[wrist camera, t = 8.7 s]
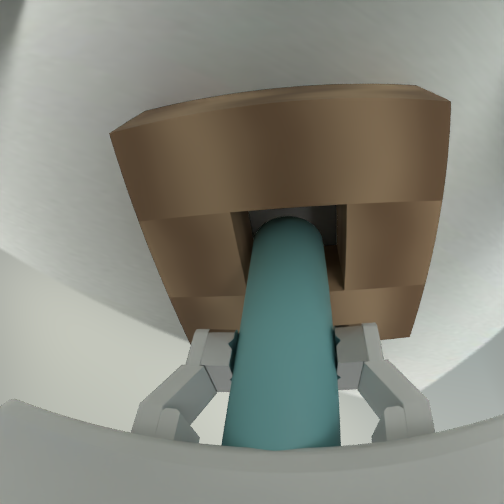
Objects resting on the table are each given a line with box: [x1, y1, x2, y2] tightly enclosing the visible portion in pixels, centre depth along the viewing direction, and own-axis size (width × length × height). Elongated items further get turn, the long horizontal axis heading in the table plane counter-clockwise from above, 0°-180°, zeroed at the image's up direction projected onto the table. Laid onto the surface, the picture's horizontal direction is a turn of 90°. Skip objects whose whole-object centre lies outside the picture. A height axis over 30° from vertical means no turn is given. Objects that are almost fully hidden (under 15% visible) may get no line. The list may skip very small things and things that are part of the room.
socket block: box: [109, 84, 451, 344], centre depth 17 cm, size 14×14×4 cm
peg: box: [221, 216, 341, 451], centre depth 11 cm, size 3×3×12 cm
